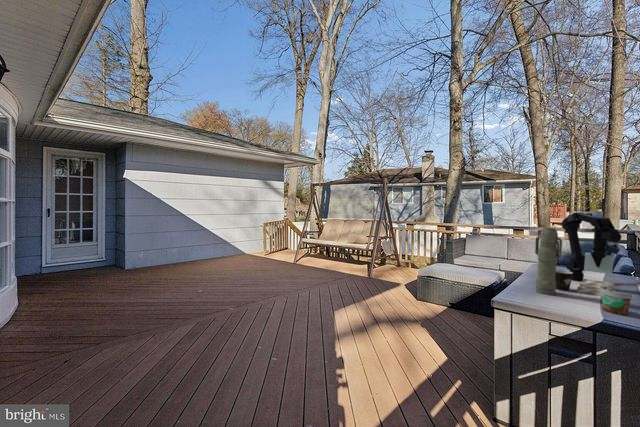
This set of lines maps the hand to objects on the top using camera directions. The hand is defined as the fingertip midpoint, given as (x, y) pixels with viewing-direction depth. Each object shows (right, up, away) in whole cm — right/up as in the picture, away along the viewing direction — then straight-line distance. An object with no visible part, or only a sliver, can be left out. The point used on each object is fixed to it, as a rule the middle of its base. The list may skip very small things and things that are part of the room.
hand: (598, 266), depth 184 cm
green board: (0, -3, 0) cm, 3 cm away
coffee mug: (-24, -12, -2) cm, 27 cm away
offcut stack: (-9, -13, -7) cm, 17 cm away
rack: (-3, -13, -2) cm, 13 cm away
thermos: (-37, -13, -9) cm, 40 cm away
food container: (-26, -15, -37) cm, 47 cm away
